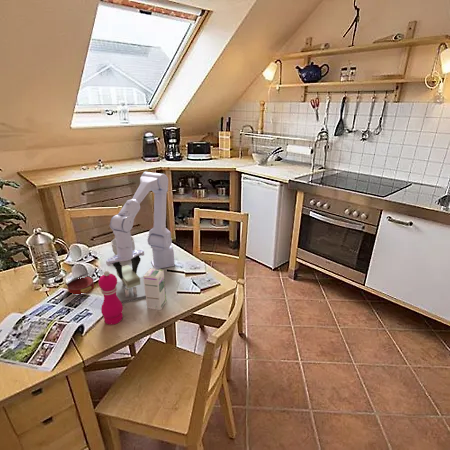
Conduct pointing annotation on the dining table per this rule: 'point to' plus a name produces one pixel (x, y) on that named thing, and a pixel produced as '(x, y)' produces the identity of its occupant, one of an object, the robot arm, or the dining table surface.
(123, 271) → the pale green block
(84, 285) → the canned food
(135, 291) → the peg stand
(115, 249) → the teacup
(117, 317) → the pepper mill
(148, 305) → the syrup box
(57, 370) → the dining table surface
